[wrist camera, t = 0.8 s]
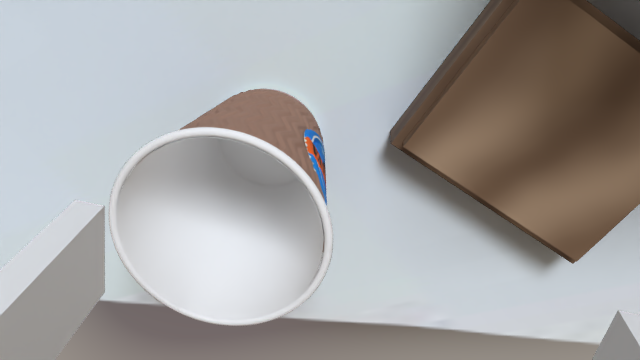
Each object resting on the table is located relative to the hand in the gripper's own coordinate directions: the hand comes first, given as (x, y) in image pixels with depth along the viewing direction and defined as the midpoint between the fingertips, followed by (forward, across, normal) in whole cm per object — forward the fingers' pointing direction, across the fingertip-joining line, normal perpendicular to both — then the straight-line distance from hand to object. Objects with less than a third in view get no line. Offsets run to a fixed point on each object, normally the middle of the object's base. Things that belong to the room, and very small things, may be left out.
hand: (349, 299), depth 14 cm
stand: (+21, +11, 0) cm, 24 cm away
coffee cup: (+21, -5, -5) cm, 23 cm away
